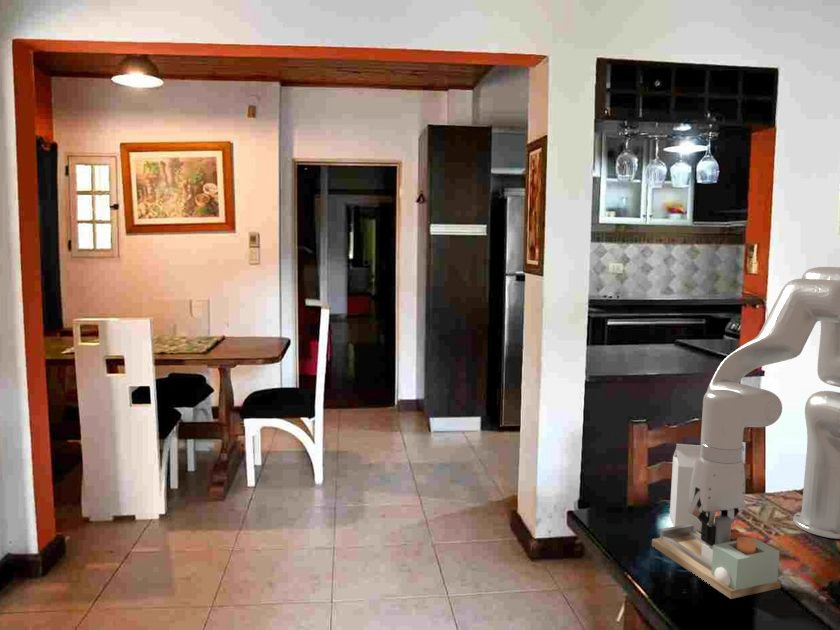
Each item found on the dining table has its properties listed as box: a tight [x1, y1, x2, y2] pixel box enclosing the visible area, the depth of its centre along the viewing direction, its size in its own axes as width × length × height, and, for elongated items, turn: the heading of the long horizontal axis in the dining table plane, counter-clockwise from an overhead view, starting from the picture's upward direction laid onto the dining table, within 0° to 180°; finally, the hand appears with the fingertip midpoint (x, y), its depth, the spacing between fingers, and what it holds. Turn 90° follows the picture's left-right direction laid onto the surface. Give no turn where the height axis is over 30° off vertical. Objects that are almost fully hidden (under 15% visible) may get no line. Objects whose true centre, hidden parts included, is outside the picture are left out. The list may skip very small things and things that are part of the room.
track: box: [651, 524, 782, 600], centre depth 134 cm, size 12×22×4 cm, turn 19°
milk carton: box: [669, 443, 708, 533], centre depth 152 cm, size 7×7×19 cm
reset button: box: [736, 536, 756, 555], centre depth 126 cm, size 3×3×3 cm
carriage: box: [701, 515, 733, 564], centre depth 131 cm, size 5×5×9 cm
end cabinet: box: [711, 537, 780, 599], centre depth 126 cm, size 10×6×8 cm, turn 109°
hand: (715, 540), depth 133 cm, fingers closed on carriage, 3 cm apart
